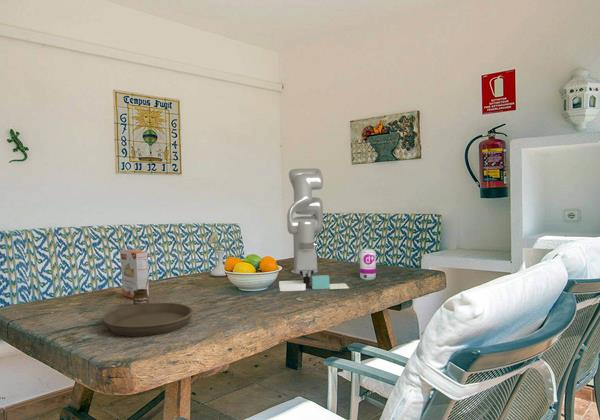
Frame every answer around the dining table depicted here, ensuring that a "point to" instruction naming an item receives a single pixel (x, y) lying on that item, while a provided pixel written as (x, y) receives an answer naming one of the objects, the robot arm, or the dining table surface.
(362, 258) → the supplement can
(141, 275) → the cracker box
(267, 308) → the dining table surface
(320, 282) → the teal block
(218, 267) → the flower in vase
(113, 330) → the plant saucer
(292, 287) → the channel
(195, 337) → the dining table surface
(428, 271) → the dining table surface
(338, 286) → the tile
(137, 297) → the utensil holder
